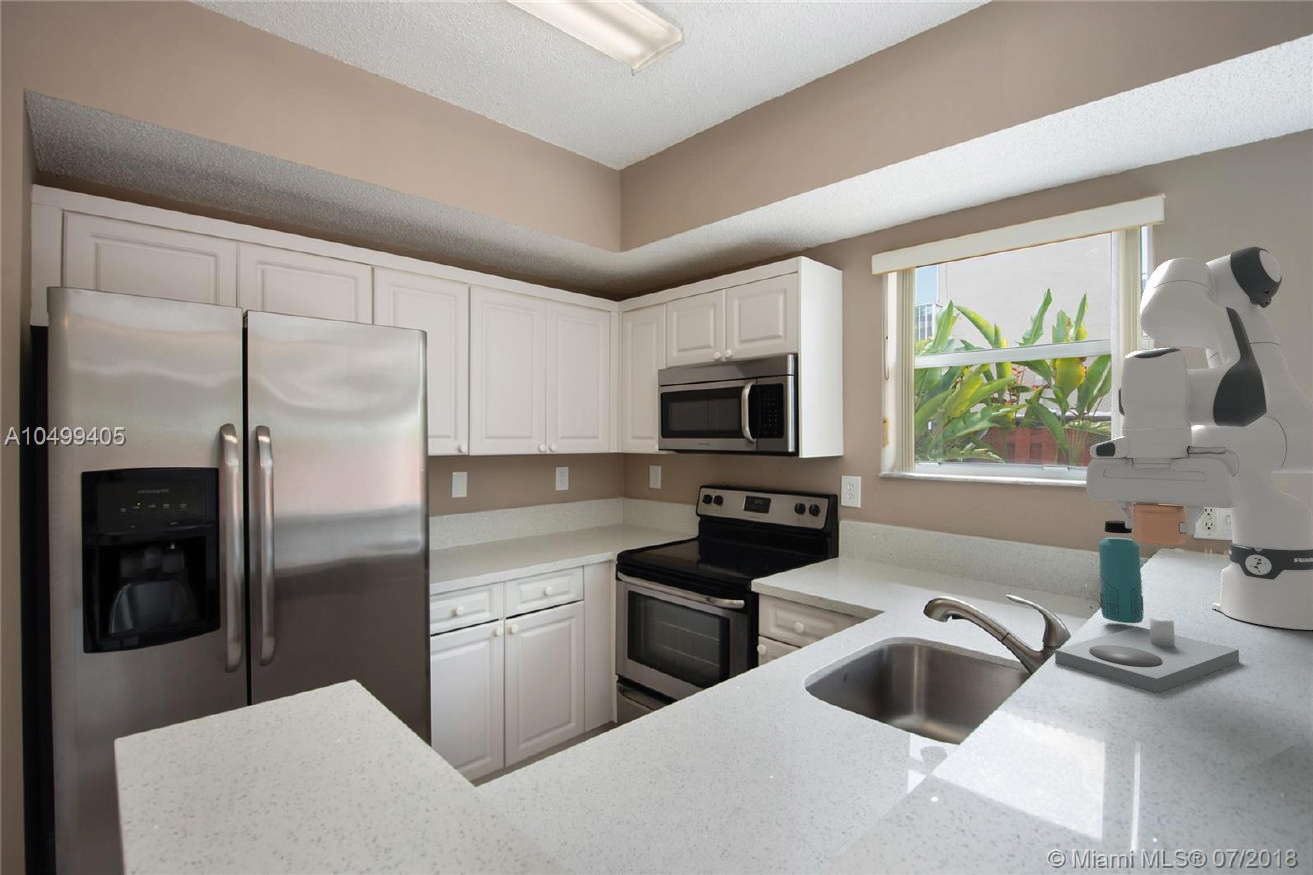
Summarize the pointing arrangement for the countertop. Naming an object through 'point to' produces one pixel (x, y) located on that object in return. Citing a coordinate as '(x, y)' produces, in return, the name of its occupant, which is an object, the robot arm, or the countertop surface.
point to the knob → (1158, 523)
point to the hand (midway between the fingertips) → (1159, 531)
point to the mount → (1148, 656)
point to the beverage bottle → (1120, 576)
